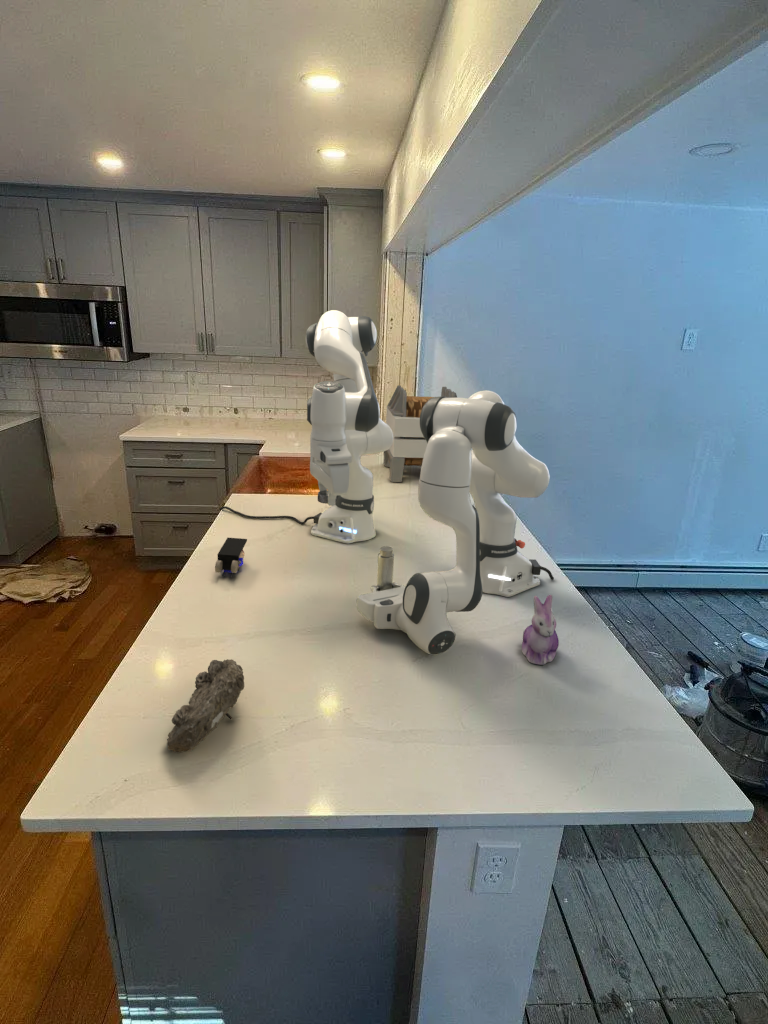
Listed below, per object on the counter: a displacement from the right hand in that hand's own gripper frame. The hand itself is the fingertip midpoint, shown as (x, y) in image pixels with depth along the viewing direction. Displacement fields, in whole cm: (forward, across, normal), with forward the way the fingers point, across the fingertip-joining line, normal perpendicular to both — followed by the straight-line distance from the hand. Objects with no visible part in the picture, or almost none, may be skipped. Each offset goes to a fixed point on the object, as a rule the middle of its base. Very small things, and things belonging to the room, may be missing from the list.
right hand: (382, 586), depth 150 cm
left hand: (+10, +12, -22) cm, 27 cm away
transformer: (+108, -75, +5) cm, 132 cm away
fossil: (-27, +50, +5) cm, 57 cm away
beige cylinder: (-1, 0, +5) cm, 5 cm away
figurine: (-36, -23, +5) cm, 43 cm away
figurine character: (+35, +32, +5) cm, 48 cm away
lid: (+10, +12, -24) cm, 29 cm away
